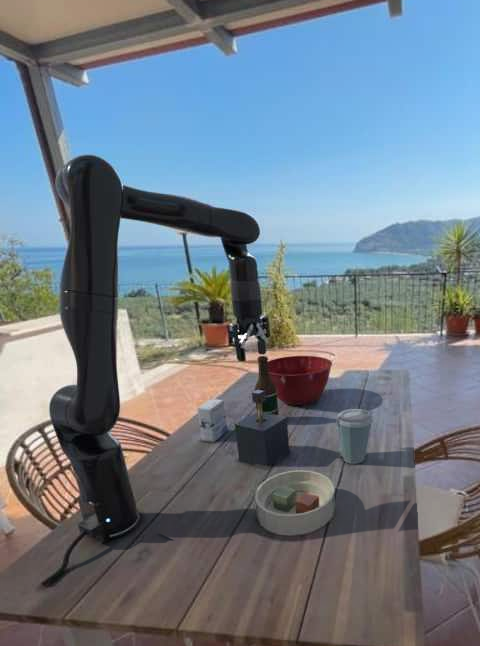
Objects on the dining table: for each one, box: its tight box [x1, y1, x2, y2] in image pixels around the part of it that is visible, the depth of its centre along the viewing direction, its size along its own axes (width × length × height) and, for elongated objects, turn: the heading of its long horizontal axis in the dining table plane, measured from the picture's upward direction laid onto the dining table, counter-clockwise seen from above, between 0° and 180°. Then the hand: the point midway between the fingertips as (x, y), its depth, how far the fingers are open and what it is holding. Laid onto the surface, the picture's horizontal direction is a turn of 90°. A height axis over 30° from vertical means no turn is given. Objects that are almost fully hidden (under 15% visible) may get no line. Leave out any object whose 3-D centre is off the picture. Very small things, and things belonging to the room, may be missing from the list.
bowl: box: [254, 469, 336, 537], centre depth 92 cm, size 18×18×6 cm
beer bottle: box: [254, 355, 279, 416], centre depth 138 cm, size 8×8×24 cm
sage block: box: [273, 486, 297, 513], centre depth 93 cm, size 4×4×4 cm
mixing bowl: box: [268, 355, 333, 406], centre depth 160 cm, size 28×28×16 cm
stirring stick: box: [251, 390, 266, 423], centre depth 114 cm, size 3×3×21 cm
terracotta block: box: [295, 492, 319, 514], centre depth 90 cm, size 4×4×4 cm
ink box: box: [197, 398, 228, 443], centre depth 129 cm, size 9×5×12 cm, turn 168°
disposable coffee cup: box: [336, 408, 374, 465], centre depth 114 cm, size 11×11×15 cm
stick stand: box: [234, 411, 290, 468], centre depth 115 cm, size 11×11×12 cm
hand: (252, 357), depth 108 cm, fingers open, 8 cm apart
